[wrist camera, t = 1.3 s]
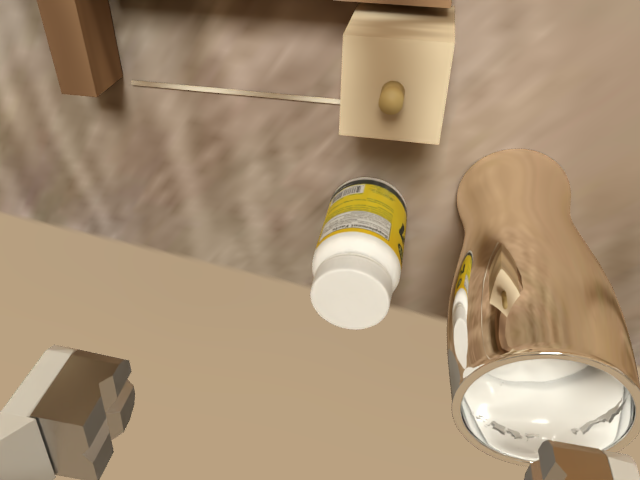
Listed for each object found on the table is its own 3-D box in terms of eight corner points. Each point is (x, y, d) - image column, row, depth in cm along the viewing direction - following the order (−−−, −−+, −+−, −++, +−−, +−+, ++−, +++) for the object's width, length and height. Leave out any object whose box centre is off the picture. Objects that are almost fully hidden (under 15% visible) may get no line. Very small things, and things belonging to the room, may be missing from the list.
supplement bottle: (392, 249, 36) (379, 347, 29) (321, 226, 36) (292, 319, 29) (419, 188, 33) (411, 282, 27) (342, 163, 33) (314, 251, 26)
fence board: (457, -54, 25) (458, -40, 23) (433, 112, 30) (432, 137, 28) (55, -75, 28) (19, -65, 26) (92, 80, 33) (63, 101, 30)
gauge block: (454, 5, 27) (455, 53, 22) (440, 96, 30) (438, 157, 24) (360, -1, 28) (338, 43, 22) (355, 88, 30) (334, 146, 25)
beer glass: (424, 185, 33) (407, 393, 21) (532, 114, 29) (586, 318, 18) (494, 262, 35) (514, 489, 23) (602, 205, 32) (691, 440, 20)
